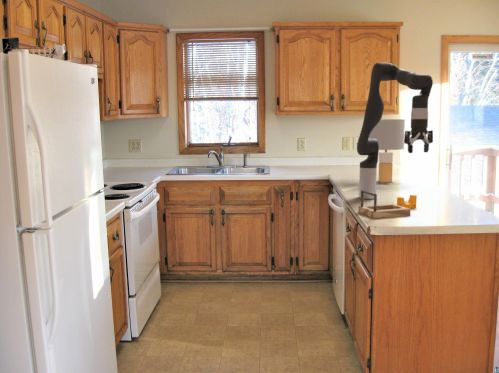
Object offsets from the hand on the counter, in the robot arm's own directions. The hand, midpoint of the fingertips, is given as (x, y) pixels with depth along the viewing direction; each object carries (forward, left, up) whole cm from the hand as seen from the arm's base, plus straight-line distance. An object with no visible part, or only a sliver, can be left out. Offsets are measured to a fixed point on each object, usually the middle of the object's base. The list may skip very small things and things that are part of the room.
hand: (418, 152), depth 247 cm
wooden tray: (-4, -15, -29) cm, 33 cm away
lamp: (-94, +42, -29) cm, 107 cm away
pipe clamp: (-12, +2, -29) cm, 32 cm away
